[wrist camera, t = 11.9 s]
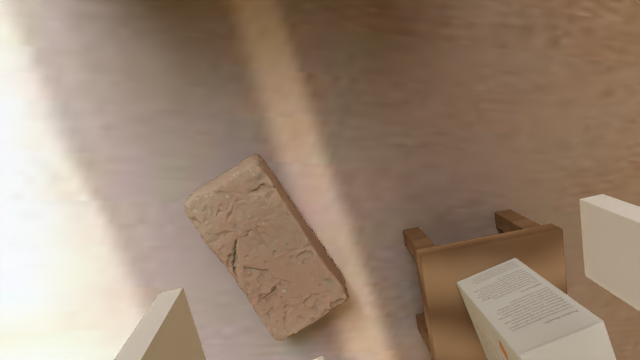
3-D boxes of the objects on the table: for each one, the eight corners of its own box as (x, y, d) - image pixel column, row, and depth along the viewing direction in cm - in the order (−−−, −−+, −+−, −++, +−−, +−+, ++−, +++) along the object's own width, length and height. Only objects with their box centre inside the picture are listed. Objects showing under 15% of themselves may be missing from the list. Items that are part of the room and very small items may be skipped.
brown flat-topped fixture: (398, 227, 42) (420, 256, 34) (513, 205, 42) (562, 228, 34) (414, 332, 44) (439, 382, 36) (523, 310, 44) (571, 356, 36)
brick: (188, 194, 41) (174, 206, 36) (258, 148, 40) (253, 155, 35) (281, 321, 44) (279, 347, 39) (348, 280, 43) (353, 302, 38)
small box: (543, 333, 36) (642, 427, 25) (484, 358, 36) (558, 461, 26) (515, 254, 34) (608, 320, 24) (453, 280, 34) (518, 357, 24)
